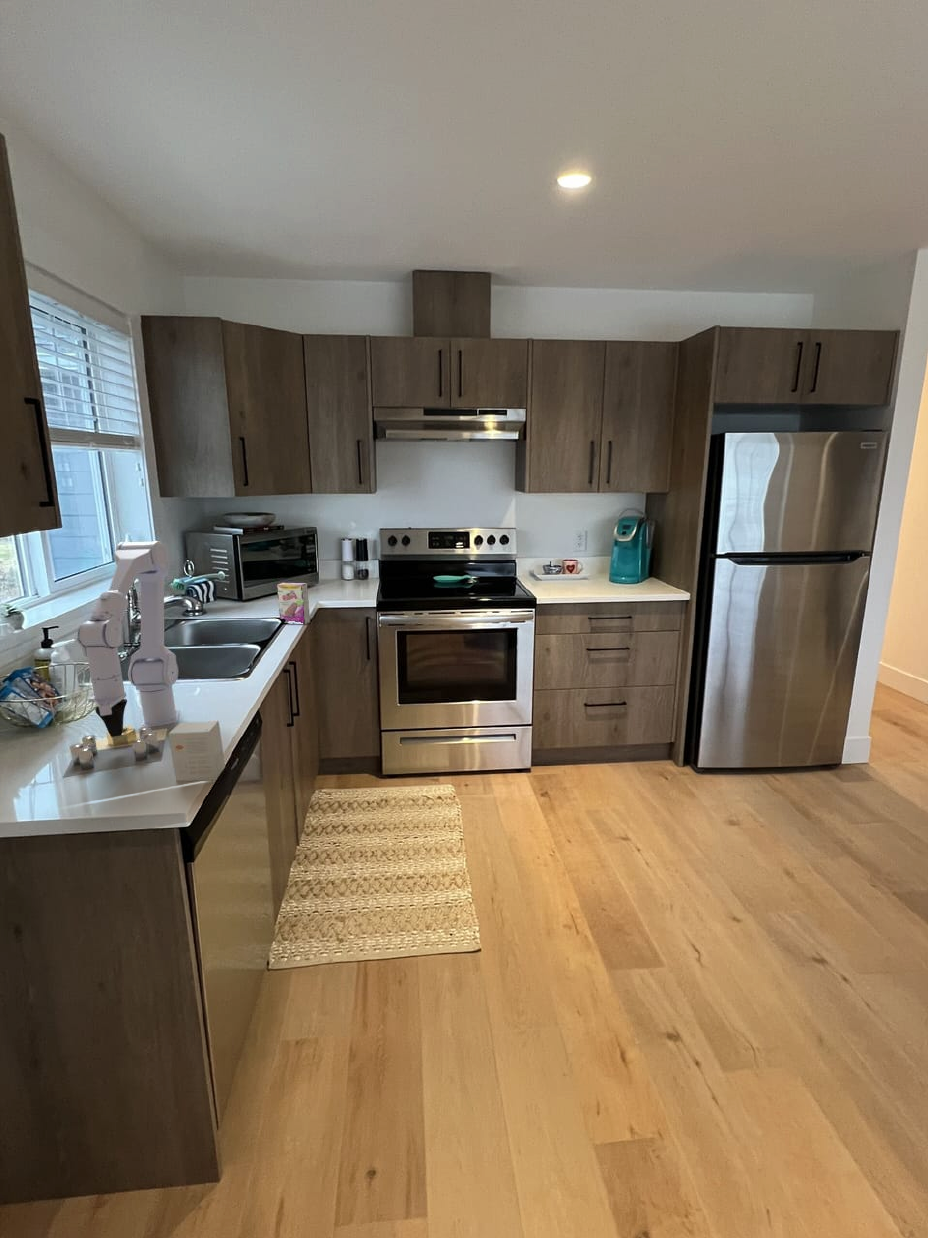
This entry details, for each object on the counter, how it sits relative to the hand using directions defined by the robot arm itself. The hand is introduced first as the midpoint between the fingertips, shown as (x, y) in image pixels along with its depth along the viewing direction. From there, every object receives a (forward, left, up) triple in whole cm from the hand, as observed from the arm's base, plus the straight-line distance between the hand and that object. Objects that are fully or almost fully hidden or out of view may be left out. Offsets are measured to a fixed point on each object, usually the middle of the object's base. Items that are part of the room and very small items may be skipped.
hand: (116, 735), depth 137 cm
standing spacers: (+3, 0, -4) cm, 5 cm away
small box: (+19, +17, -5) cm, 26 cm away
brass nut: (-6, 0, -4) cm, 7 cm away
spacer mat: (0, 0, -4) cm, 4 cm away
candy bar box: (-111, +50, -5) cm, 122 cm away
